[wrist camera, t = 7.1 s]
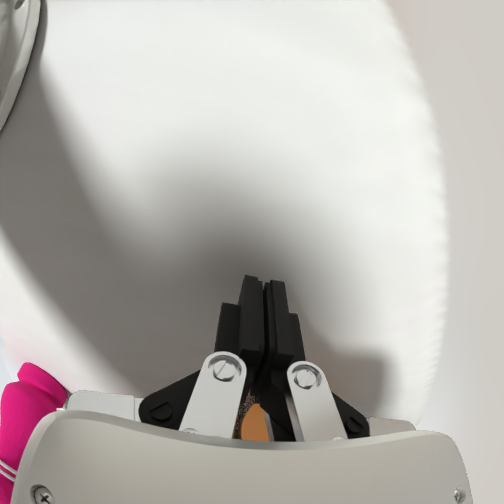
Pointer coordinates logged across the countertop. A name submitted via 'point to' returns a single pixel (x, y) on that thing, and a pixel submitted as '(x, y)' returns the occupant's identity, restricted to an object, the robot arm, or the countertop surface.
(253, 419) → the ball
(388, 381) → the countertop surface
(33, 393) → the pepper mill
